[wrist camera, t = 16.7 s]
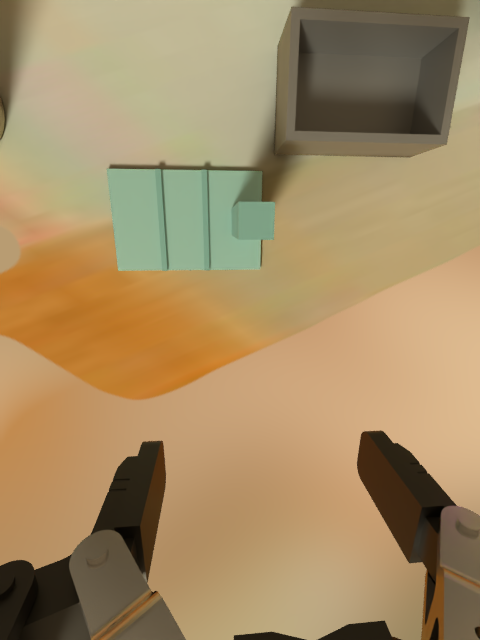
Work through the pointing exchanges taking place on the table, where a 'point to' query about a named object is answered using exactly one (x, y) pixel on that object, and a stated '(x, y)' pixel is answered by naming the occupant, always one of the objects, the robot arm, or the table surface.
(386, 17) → the tub
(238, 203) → the lid
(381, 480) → the robot arm
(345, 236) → the table surface
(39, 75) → the table surface
